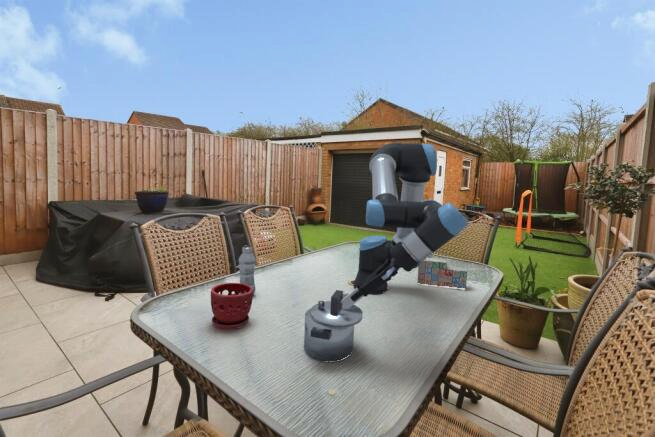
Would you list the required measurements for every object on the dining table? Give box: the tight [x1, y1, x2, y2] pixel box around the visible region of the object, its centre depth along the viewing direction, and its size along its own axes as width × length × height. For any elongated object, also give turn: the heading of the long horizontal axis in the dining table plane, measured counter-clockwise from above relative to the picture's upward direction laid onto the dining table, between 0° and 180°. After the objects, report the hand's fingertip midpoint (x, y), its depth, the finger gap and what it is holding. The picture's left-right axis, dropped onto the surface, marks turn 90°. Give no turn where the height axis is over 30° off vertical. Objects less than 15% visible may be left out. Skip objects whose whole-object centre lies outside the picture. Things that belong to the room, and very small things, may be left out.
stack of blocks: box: [417, 257, 468, 289], centre depth 151 cm, size 21×6×12 cm, turn 73°
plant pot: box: [210, 282, 254, 330], centre depth 105 cm, size 13×13×12 cm
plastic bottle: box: [238, 245, 256, 296], centre depth 129 cm, size 6×7×20 cm
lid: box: [310, 289, 364, 327], centre depth 90 cm, size 15×15×6 cm
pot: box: [303, 308, 355, 363], centre depth 92 cm, size 14×19×10 cm
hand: (344, 304), depth 89 cm, fingers closed
